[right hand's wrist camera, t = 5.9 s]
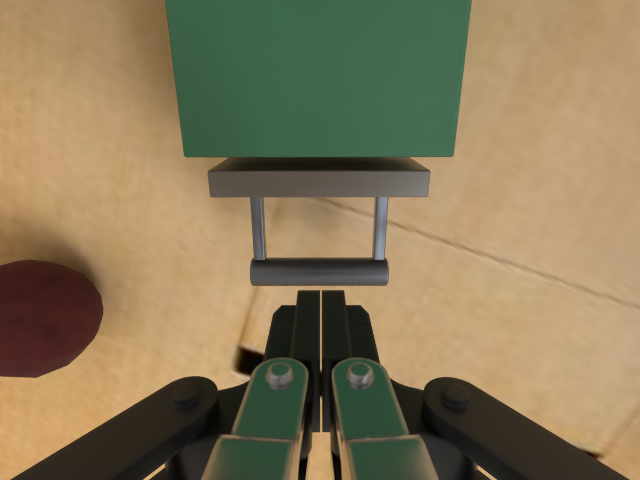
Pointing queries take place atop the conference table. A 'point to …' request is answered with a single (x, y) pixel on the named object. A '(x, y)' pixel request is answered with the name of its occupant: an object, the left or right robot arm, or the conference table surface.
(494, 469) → the right robot arm
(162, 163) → the conference table surface
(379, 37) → the cabinet
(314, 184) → the drawer
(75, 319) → the potato
